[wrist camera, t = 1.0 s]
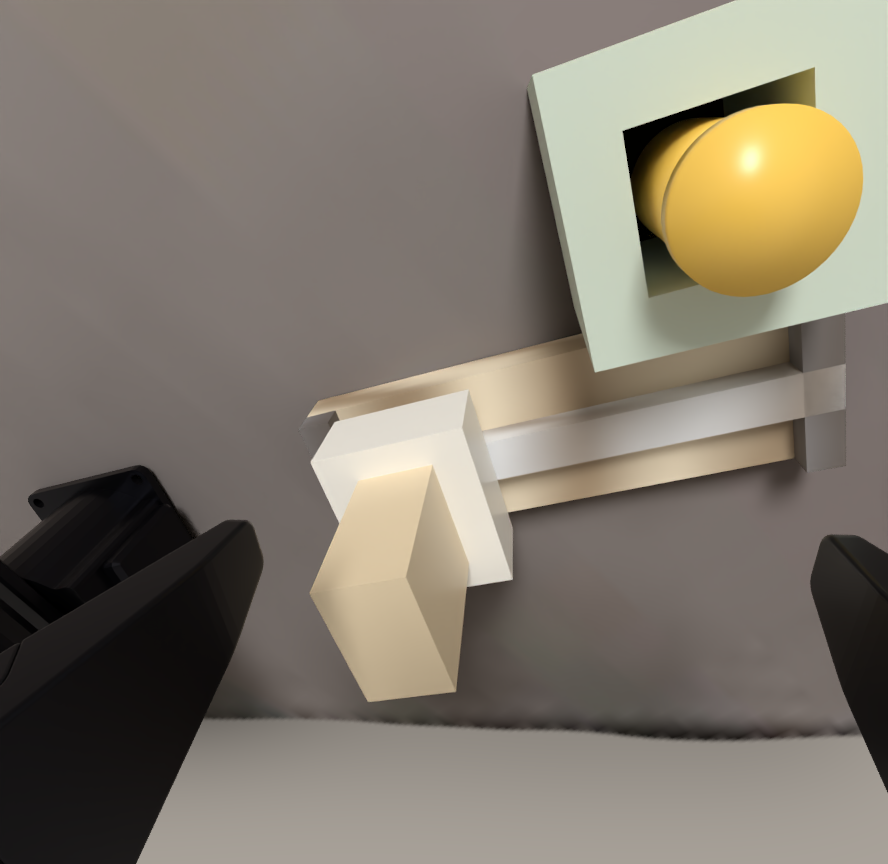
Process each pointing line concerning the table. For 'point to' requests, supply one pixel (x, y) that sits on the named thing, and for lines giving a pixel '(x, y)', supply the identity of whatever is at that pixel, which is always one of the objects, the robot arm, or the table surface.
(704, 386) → the rail
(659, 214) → the button
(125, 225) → the table surface
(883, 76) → the button housing
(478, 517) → the carriage
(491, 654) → the table surface
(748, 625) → the table surface
